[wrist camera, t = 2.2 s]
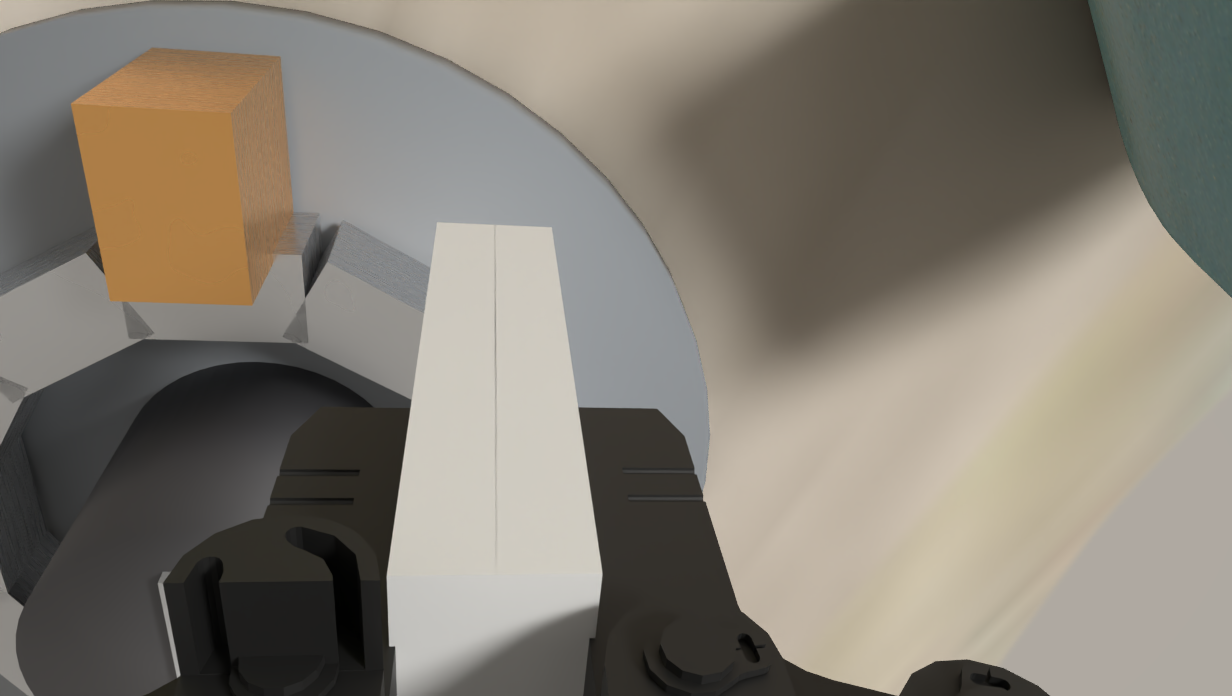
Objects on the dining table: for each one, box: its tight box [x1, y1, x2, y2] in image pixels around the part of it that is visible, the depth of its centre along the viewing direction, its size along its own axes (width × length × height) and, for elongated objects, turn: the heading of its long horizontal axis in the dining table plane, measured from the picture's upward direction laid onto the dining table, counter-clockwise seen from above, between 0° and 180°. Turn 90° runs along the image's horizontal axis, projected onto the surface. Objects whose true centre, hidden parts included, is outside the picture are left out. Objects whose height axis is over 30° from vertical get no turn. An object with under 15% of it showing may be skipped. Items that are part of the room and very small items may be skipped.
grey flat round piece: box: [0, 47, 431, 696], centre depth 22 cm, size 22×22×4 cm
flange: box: [0, 0, 710, 696], centre depth 21 cm, size 23×23×8 cm
